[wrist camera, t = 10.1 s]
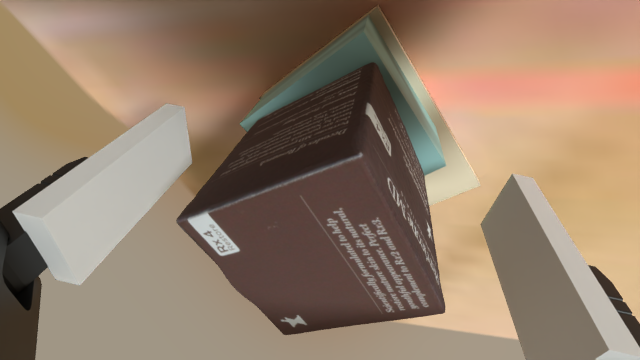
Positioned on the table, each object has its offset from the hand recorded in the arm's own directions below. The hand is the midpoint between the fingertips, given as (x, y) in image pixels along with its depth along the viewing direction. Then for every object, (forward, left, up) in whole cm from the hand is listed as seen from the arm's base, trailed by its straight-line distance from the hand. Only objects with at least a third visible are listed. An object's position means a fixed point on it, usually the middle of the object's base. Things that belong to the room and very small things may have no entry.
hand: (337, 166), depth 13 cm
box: (0, 0, -2) cm, 2 cm away
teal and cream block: (+3, 0, -7) cm, 8 cm away
